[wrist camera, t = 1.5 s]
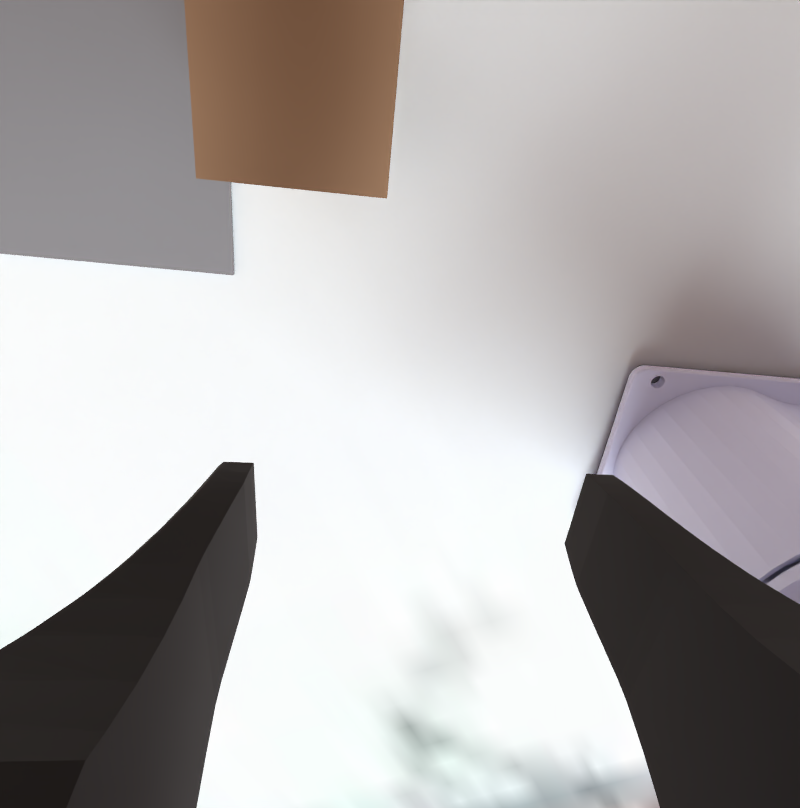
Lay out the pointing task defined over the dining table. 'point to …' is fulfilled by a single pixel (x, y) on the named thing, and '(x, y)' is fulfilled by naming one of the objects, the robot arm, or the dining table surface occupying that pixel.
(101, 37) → the slate mat
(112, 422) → the dining table surface
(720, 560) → the robot arm
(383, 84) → the walnut block
